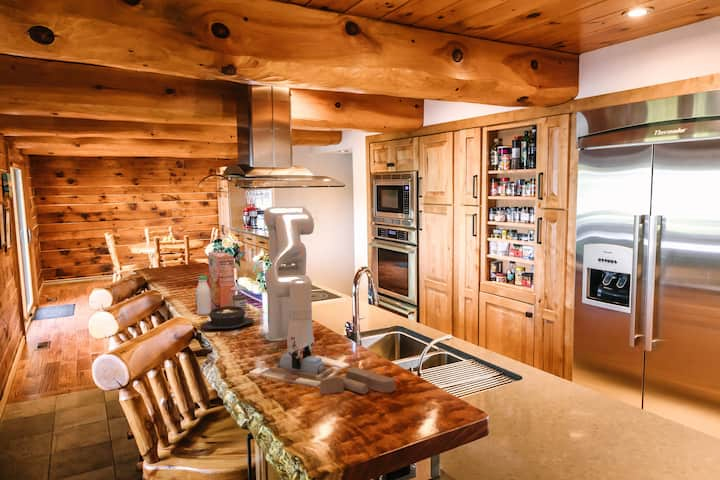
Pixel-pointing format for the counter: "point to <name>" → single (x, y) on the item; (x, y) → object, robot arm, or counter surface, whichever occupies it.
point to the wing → (333, 362)
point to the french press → (239, 297)
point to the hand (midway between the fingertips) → (301, 365)
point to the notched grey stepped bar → (303, 364)
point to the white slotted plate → (259, 369)
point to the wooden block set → (358, 382)
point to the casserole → (227, 318)
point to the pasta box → (221, 278)
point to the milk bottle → (203, 297)
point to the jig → (300, 375)
